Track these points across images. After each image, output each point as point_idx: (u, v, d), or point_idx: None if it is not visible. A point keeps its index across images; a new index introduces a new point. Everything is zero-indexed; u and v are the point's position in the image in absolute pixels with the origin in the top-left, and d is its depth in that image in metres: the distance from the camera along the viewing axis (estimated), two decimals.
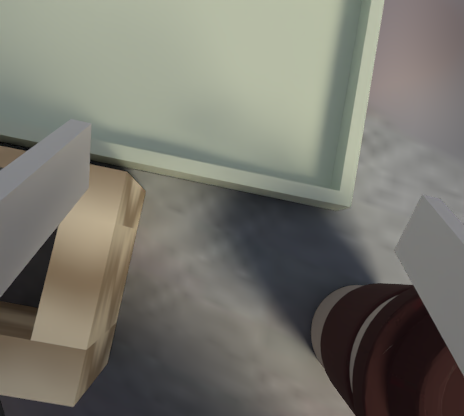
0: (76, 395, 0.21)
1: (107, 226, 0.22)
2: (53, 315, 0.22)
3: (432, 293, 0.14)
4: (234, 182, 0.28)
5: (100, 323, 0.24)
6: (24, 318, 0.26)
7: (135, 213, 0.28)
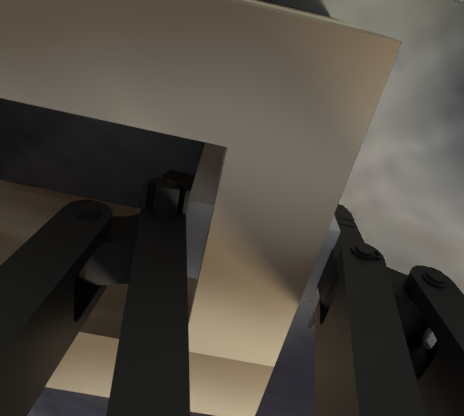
0: None
1: (331, 180, 0.10)
2: (218, 322, 0.12)
3: None
4: None
5: None
6: None
7: None
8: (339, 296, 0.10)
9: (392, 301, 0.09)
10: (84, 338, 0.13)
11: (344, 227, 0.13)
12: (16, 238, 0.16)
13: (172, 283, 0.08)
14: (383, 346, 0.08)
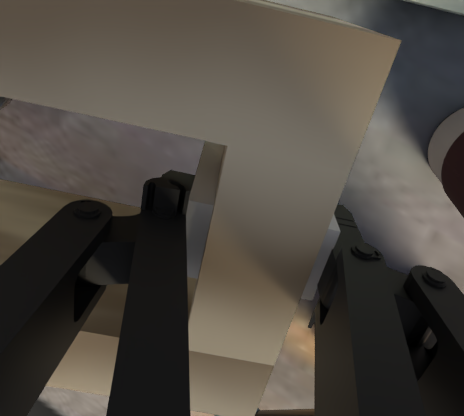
0: None
1: (331, 178, 0.10)
2: (218, 321, 0.12)
3: None
4: None
5: None
6: None
7: None
8: (339, 296, 0.10)
9: (392, 301, 0.09)
10: (84, 337, 0.13)
11: (344, 227, 0.13)
12: (16, 237, 0.16)
13: (172, 282, 0.08)
14: (383, 346, 0.08)
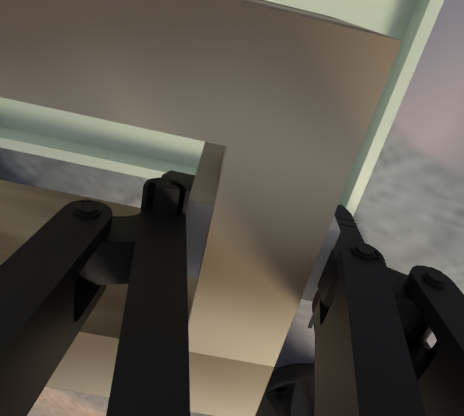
0: None
1: (331, 179, 0.10)
2: (218, 322, 0.12)
3: None
4: None
5: None
6: None
7: None
8: (339, 296, 0.10)
9: (392, 301, 0.09)
10: (83, 338, 0.13)
11: (344, 227, 0.13)
12: (16, 237, 0.16)
13: (172, 282, 0.08)
14: (383, 346, 0.08)
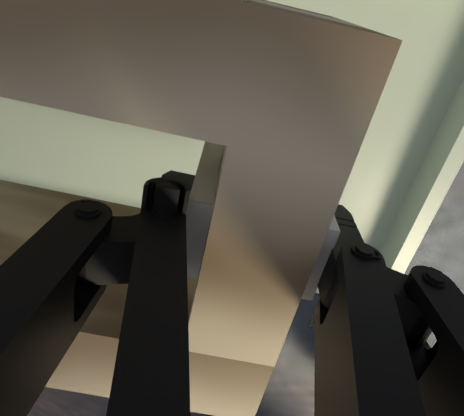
0: None
1: (331, 179, 0.10)
2: (218, 322, 0.12)
3: None
4: None
5: None
6: None
7: None
8: (339, 296, 0.10)
9: (392, 301, 0.09)
10: (83, 338, 0.13)
11: (344, 227, 0.13)
12: (16, 238, 0.16)
13: (172, 282, 0.08)
14: (383, 346, 0.08)
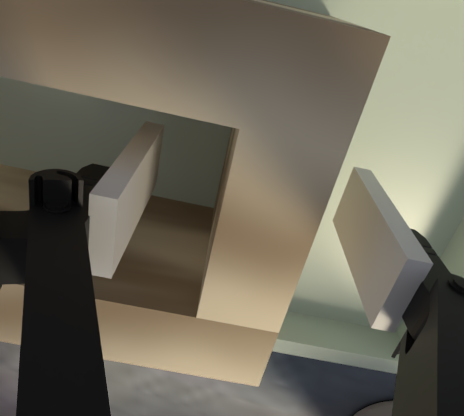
0: None
1: (330, 158, 0.11)
2: (229, 290, 0.13)
3: (354, 253, 0.15)
4: (276, 350, 0.23)
5: None
6: (159, 238, 0.18)
7: None
8: (429, 326, 0.10)
9: None
10: (106, 306, 0.14)
11: None
12: None
13: (75, 279, 0.08)
14: None
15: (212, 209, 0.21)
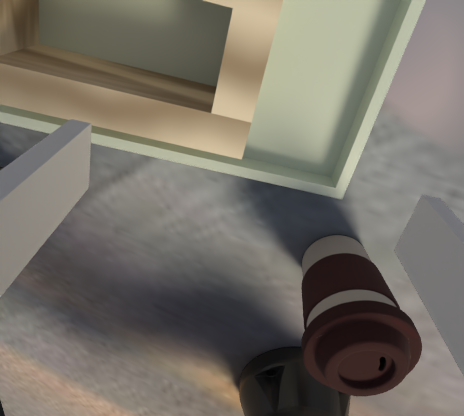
0: None
1: (271, 22, 0.26)
2: (227, 96, 0.28)
3: (432, 293, 0.14)
4: (255, 179, 0.38)
5: None
6: (189, 91, 0.32)
7: None
8: None
9: None
10: (168, 106, 0.29)
11: None
12: (126, 77, 0.32)
13: None
14: None
15: None
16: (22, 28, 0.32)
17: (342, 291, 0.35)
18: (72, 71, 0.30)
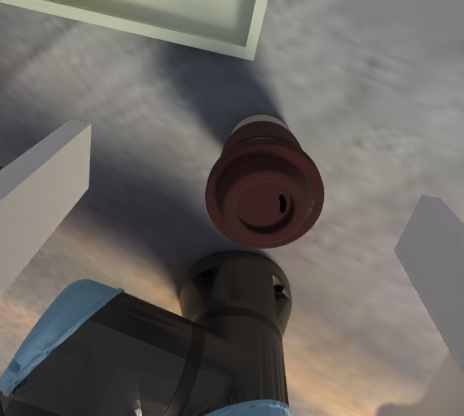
0: None
1: None
2: None
3: (432, 293, 0.14)
4: (164, 39, 0.37)
5: None
6: None
7: None
8: None
9: None
10: None
11: None
12: None
13: None
14: None
15: None
16: None
17: (246, 140, 0.34)
18: None
